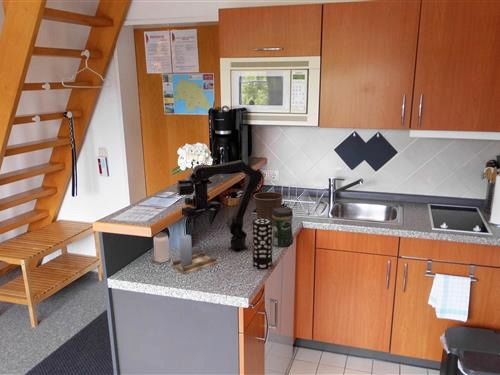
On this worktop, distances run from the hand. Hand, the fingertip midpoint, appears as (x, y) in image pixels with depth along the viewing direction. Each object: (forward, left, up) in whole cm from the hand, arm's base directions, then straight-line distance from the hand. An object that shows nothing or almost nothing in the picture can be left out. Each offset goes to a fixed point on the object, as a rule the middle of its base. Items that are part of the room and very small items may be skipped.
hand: (202, 226), depth 192 cm
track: (+10, +8, -13) cm, 18 cm away
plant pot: (-52, -12, -13) cm, 55 cm away
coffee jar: (-36, +16, -13) cm, 41 cm away
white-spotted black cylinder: (-12, +28, -13) cm, 33 cm away
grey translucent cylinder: (+14, +8, -12) cm, 20 cm away
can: (+18, -6, -13) cm, 23 cm away
